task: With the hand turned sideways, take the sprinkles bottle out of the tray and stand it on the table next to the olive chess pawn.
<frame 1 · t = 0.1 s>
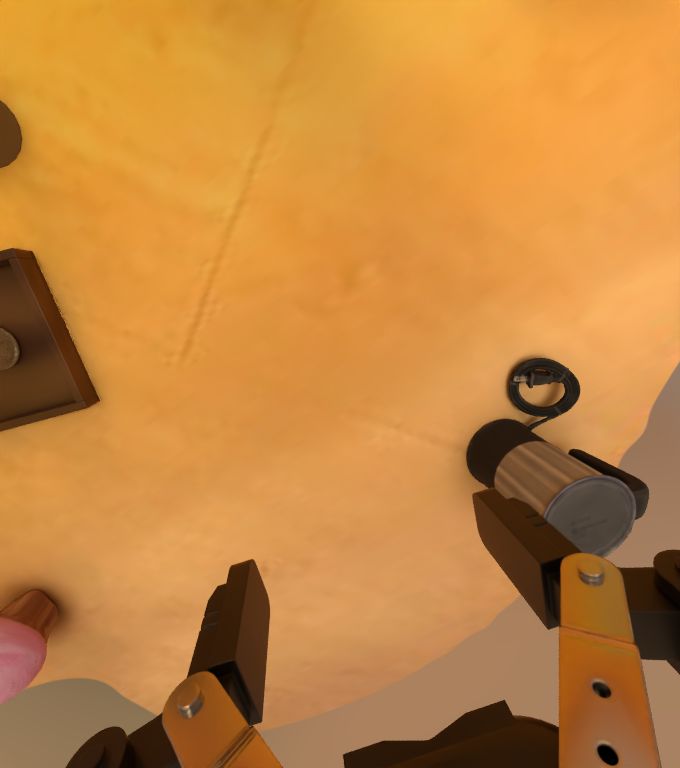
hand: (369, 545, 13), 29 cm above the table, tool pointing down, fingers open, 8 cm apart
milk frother: (511, 422, 46), on the table
cupcake: (38, 606, 44), on the table
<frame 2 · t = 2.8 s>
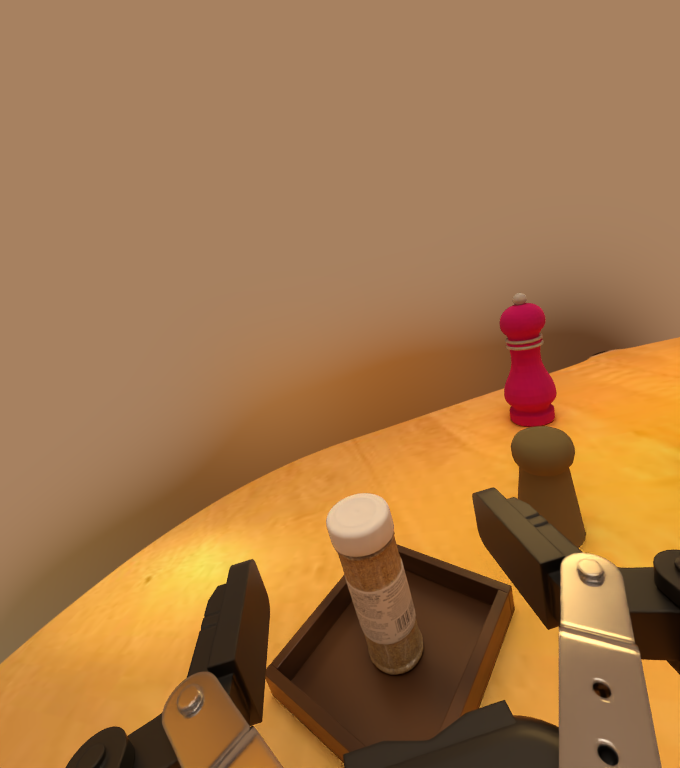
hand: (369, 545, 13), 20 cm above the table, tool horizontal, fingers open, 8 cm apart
pepper mill: (532, 419, 58), on the table
olive chess pawn: (549, 530, 37), on the table
sprinkles bottle: (396, 649, 29), resting on tray
tray: (396, 650, 29), on the table
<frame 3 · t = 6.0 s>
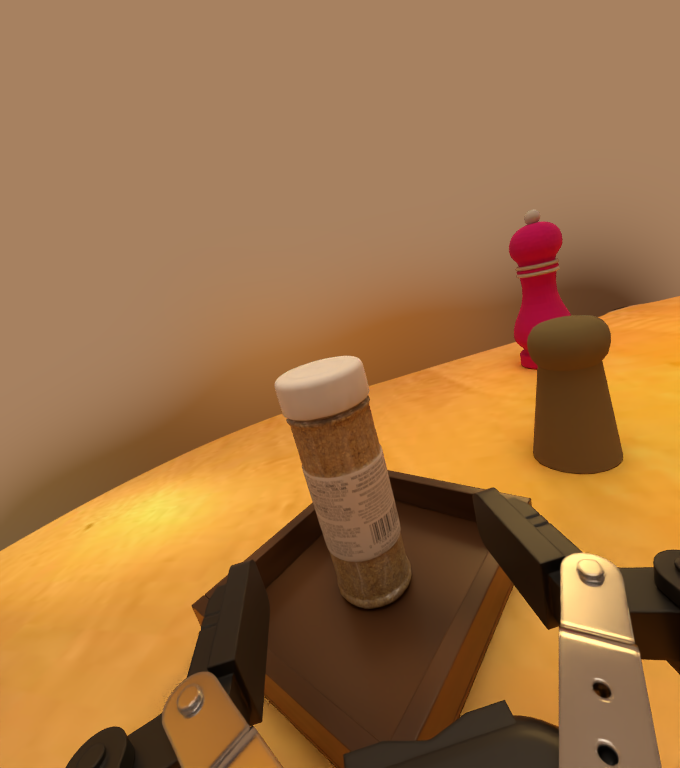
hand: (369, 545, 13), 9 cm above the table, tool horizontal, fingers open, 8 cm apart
pepper mill: (546, 363, 51), on the table
olive chess pawn: (575, 455, 29), on the table
sprinkles bottle: (375, 582, 22), resting on tray
tray: (376, 583, 22), on the table
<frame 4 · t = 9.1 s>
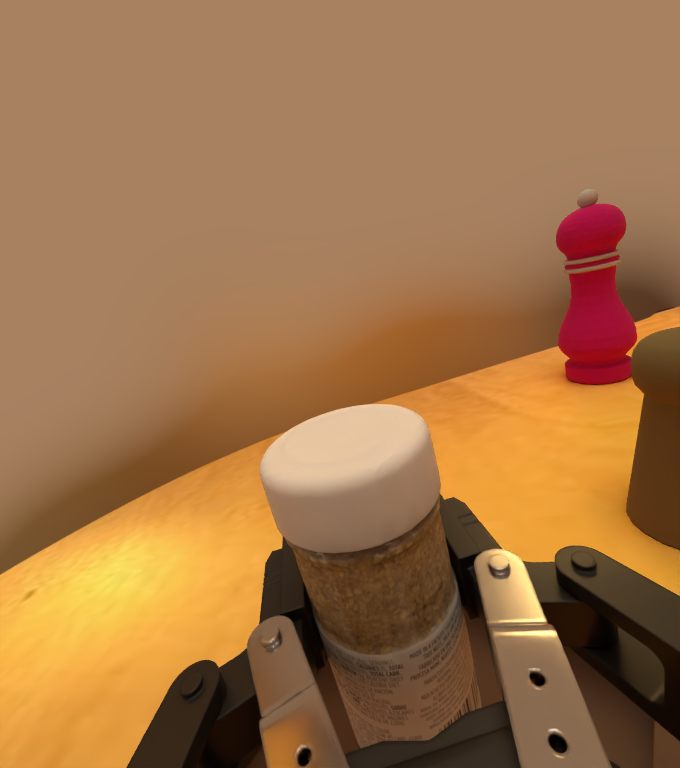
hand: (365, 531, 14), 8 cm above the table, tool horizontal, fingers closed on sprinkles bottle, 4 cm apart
pepper mill: (597, 376, 42), on the table
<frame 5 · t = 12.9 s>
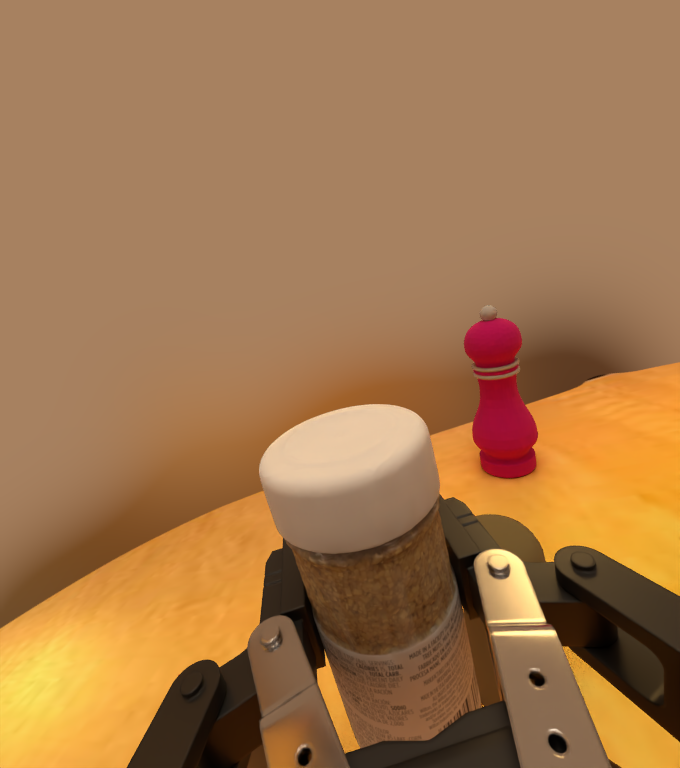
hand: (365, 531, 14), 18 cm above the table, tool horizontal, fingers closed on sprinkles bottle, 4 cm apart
pepper mill: (508, 465, 45), on the table
olive chess pawn: (512, 672, 24), on the table
when the fingers open (8 cm above the table, at t = 16.9 s): sprinkles bottle stays where it is, on the table.
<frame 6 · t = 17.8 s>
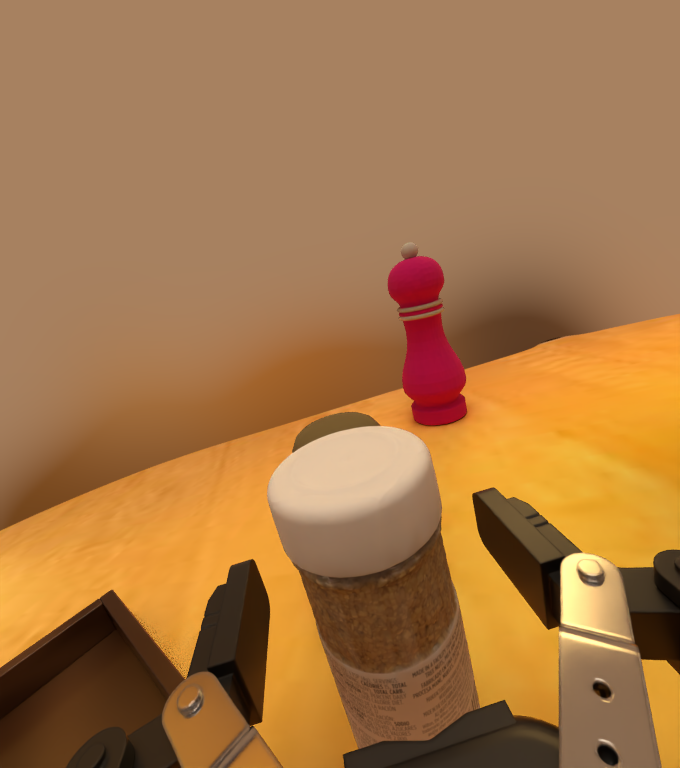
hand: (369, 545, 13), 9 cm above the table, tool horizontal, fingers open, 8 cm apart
pepper mill: (440, 416, 44), on the table
olive chess pawn: (377, 586, 22), on the table
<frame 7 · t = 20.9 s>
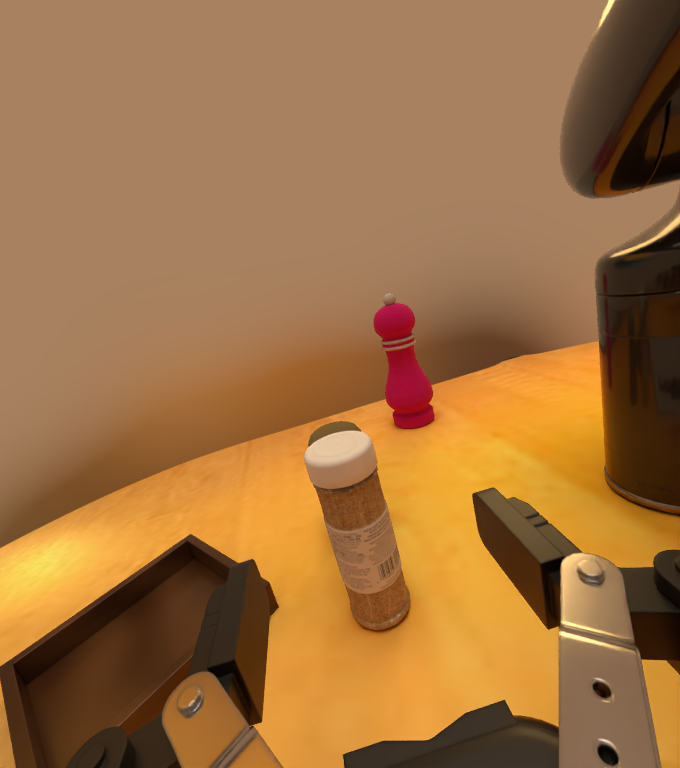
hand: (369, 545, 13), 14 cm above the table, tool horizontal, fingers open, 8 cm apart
pepper mill: (414, 421, 57), on the table
olive chess pawn: (359, 529, 36), on the table
sprinkles bottle: (381, 607, 27), on the table
tray: (149, 648, 28), on the table
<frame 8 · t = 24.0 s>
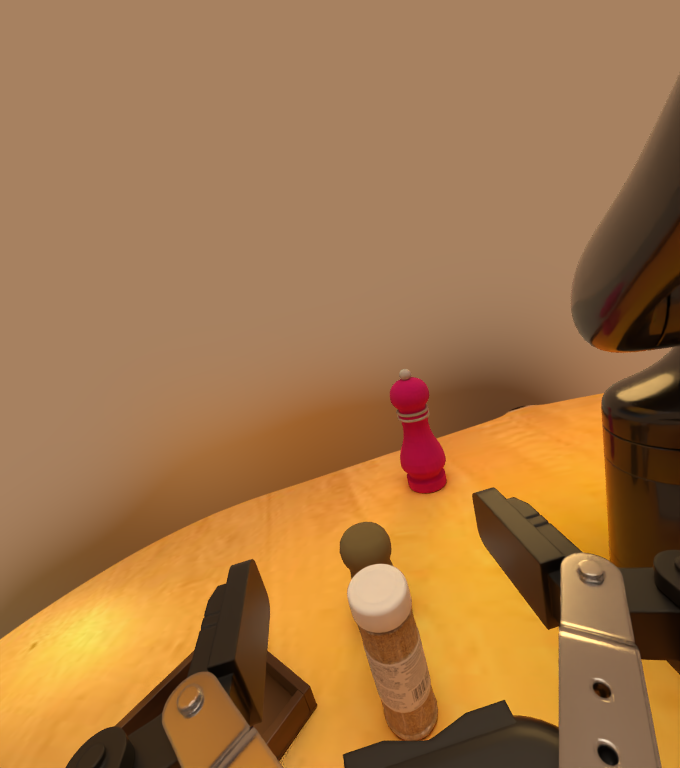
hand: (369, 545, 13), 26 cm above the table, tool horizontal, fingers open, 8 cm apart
pepper mill: (427, 483, 60), on the table
olive chess pawn: (384, 618, 39), on the table
sprinkles bottle: (411, 712, 30), on the table
tray: (203, 745, 32), on the table
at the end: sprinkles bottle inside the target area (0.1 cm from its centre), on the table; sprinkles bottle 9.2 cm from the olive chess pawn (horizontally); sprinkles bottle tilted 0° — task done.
